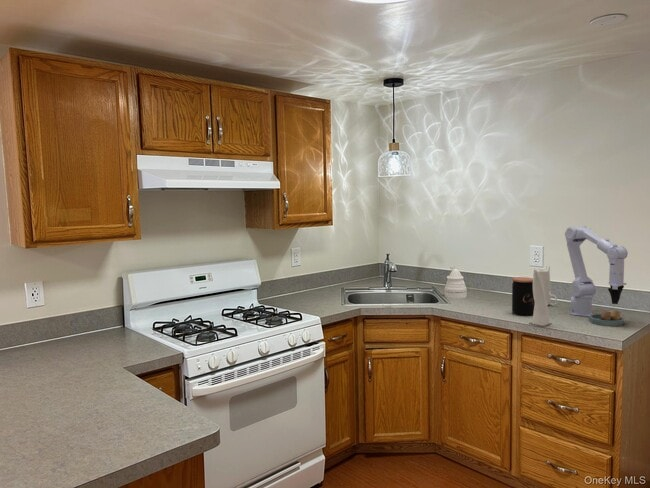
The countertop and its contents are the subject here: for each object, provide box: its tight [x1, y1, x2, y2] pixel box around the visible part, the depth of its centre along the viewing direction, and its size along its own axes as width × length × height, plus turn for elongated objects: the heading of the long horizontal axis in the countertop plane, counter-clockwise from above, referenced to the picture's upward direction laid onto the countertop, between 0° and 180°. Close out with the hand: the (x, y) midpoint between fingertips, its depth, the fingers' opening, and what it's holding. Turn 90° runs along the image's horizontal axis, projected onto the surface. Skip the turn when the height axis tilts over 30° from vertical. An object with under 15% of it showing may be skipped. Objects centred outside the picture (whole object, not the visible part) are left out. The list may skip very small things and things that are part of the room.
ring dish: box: [588, 313, 625, 327], centre depth 234 cm, size 14×14×2 cm
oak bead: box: [609, 309, 621, 321], centre depth 232 cm, size 4×4×5 cm
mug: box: [547, 291, 558, 306], centre depth 272 cm, size 12×8×8 cm
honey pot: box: [444, 265, 468, 299], centre depth 302 cm, size 13×13×18 cm
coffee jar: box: [511, 276, 535, 317], centre depth 254 cm, size 11×11×18 cm
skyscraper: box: [529, 265, 552, 328], centre depth 232 cm, size 8×8×28 cm
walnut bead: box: [600, 310, 611, 321], centre depth 231 cm, size 4×4×5 cm
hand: (615, 302), depth 231 cm, fingers open, 7 cm apart
